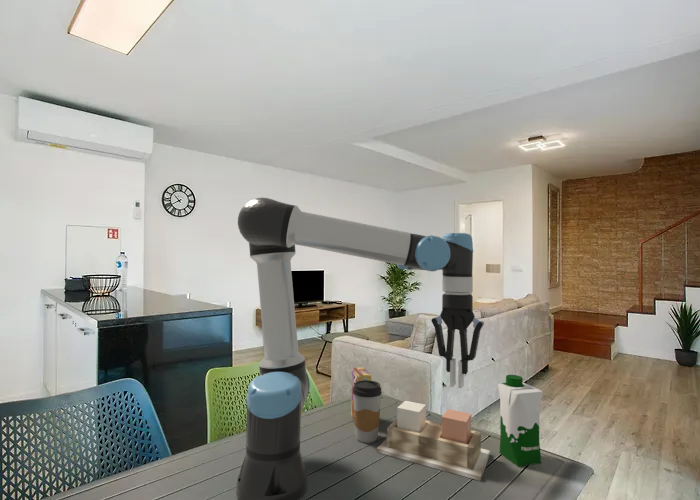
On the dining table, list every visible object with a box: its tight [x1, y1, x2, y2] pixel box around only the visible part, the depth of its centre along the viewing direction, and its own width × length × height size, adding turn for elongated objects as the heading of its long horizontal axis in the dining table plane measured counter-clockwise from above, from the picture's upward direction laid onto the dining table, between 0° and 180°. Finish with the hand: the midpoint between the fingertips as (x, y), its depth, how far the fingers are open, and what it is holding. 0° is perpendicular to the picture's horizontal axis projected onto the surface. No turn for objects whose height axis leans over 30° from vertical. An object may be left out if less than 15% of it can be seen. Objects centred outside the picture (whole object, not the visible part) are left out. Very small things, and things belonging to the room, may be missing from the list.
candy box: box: [350, 367, 372, 420], centre depth 120 cm, size 9×4×15 cm, turn 13°
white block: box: [396, 400, 427, 433], centre depth 102 cm, size 6×6×7 cm
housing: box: [376, 418, 491, 482], centre depth 99 cm, size 26×14×6 cm, turn 61°
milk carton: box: [497, 374, 544, 467], centre depth 98 cm, size 9×9×20 cm
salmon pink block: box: [441, 408, 472, 444], centre depth 96 cm, size 6×6×7 cm
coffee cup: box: [351, 380, 383, 444], centre depth 108 cm, size 8×8×15 cm
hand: (456, 385), depth 97 cm, fingers closed
